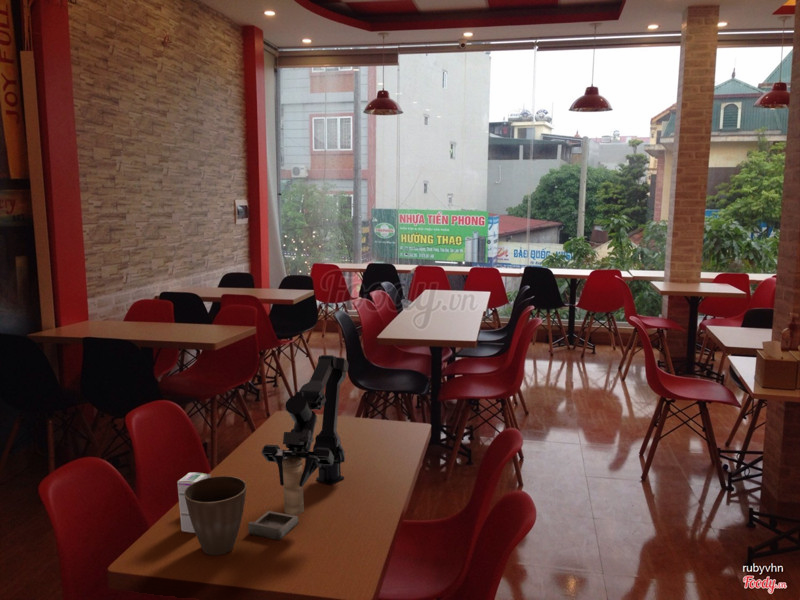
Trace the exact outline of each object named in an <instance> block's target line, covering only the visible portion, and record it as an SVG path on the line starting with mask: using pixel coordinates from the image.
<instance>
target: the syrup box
mask: <svg viewBox="0 0 800 600" xmlns="http://www.w3.org/2000/svg"><path fill="white" fill-rule="evenodd" d="M207 475H208V473H203V472H188V473H187V474H185V475H184V476H183V477H182V478H180V479H179V480H177V493H178V503H179V514H180V515H179V517H180V527H181V528H180V529H181V532H186V533H194V534H195V531H194V528H193V526H192V523H191V519H190V516H189V512H188V508H187V504H186V499H185V495H184V492H185V490H186V488H187V487H189V486H190V485H191V484H193V483H195V482H197V481H199V480H202V479H206V478H207Z"/></svg>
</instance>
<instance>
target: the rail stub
mask: <svg viewBox="0 0 800 600" xmlns="http://www.w3.org/2000/svg"><path fill="white" fill-rule="evenodd" d="M282 465H283V502H284V503H283V504H284V514H287V515H294V516H299V515H301V514H302V513H303V512H304V511H305V508H304V506H305V504H304V486H303V487H300V482H301V477H302V474H303V458H300V457H288V458H285V459H283V461H282Z"/></svg>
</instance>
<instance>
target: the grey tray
mask: <svg viewBox="0 0 800 600" xmlns="http://www.w3.org/2000/svg"><path fill="white" fill-rule="evenodd" d="M247 524H248V525H247V528H248V535H251V534H252V536H256V535H257V537H261V538H266V539H272V540H275V541H276V540H278V541H280V540H283V538H284V537H285V536H286V535H287V534H288V533H290V531H292V530H293V529H294V527H296V526H297V525H298V524H299V515H287V514H286V513H282V512H277V511H271V510H267V511H266V512H265V513H263V515H261V516H260V517H259V518H257V519H256V520H255V521H249V522H248V523H247Z"/></svg>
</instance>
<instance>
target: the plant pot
mask: <svg viewBox="0 0 800 600" xmlns="http://www.w3.org/2000/svg"><path fill="white" fill-rule="evenodd" d="M246 493H247V482H246V481H245V480H244V479H241V478H240V477H235V476H231V475H230V476H228V475H219V476H218V475H217V476H210V478H206V479H202V480H199V481H197V482H195V483H193V484H191V485H190V486H189V487H187V488H186V490H185V492H184V495H185V499H186V504H187V508H188V512H189V516H190V519H191V523H192V526H193V528H194V531H195V533H194V534H195V536H196V538H197V540H198V543H199V545H200V547H201V549H202V551H203V552H204V554H206V555H208V556H222V555H225V554H227V553H229V552H230V551H231V550H233V549H234V546H235V542H236V541H237V538H238V537H237V536H238V534H239V530H240V526H241V522H242V518H243V514H244V508H245V502H246Z"/></svg>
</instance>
